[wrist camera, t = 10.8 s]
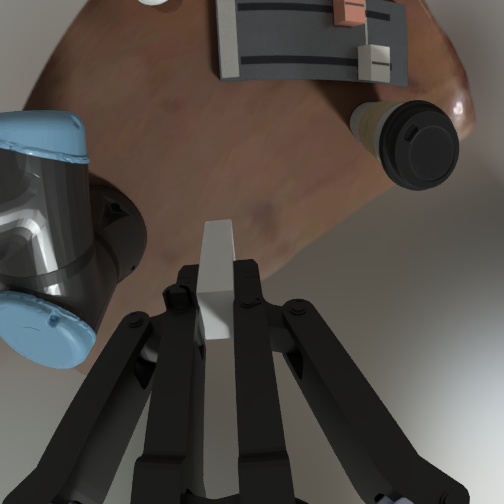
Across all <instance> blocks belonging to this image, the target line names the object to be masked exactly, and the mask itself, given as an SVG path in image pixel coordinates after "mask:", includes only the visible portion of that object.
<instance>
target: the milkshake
mask: <svg viewBox="0 0 504 504" xmlns="http://www.w3.org/2000/svg"><path fill="white" fill-rule="evenodd" d="M139 1H140V2H141V3H143V4H146V5H149V6H151V7H153V8H155V9H157V10H159V11H162V12H165V13H170V12H174V11H176V10H177V9H178V8H179V7H180V6H181V5H182V0H139Z"/></svg>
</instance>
